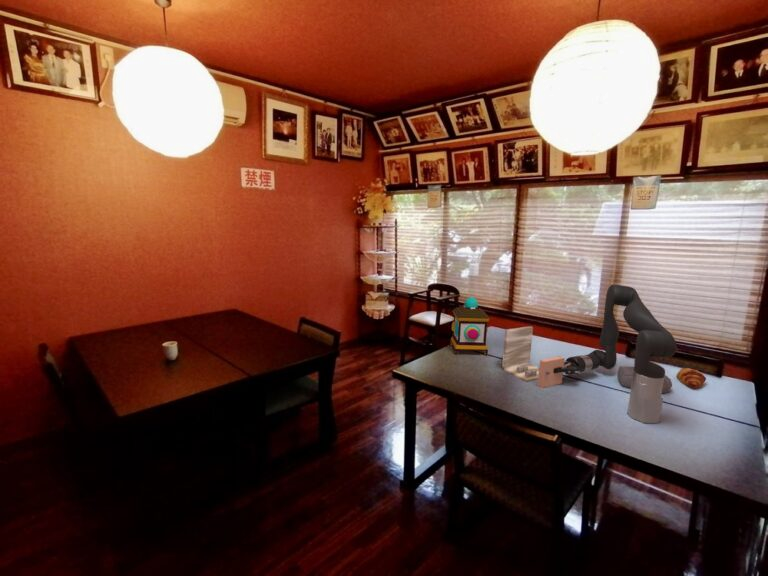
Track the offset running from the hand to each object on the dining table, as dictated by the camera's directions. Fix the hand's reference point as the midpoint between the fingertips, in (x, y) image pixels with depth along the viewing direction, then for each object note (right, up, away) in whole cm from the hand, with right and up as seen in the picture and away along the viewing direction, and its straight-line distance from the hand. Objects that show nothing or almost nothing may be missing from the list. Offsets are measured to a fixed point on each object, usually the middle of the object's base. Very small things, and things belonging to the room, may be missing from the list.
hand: (551, 369), depth 164 cm
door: (0, -7, +1) cm, 7 cm away
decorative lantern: (-27, +1, +43) cm, 51 cm away
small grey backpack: (+42, -8, +2) cm, 42 cm away
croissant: (+67, -8, +7) cm, 67 cm away
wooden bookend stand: (-6, -4, +14) cm, 15 cm away
